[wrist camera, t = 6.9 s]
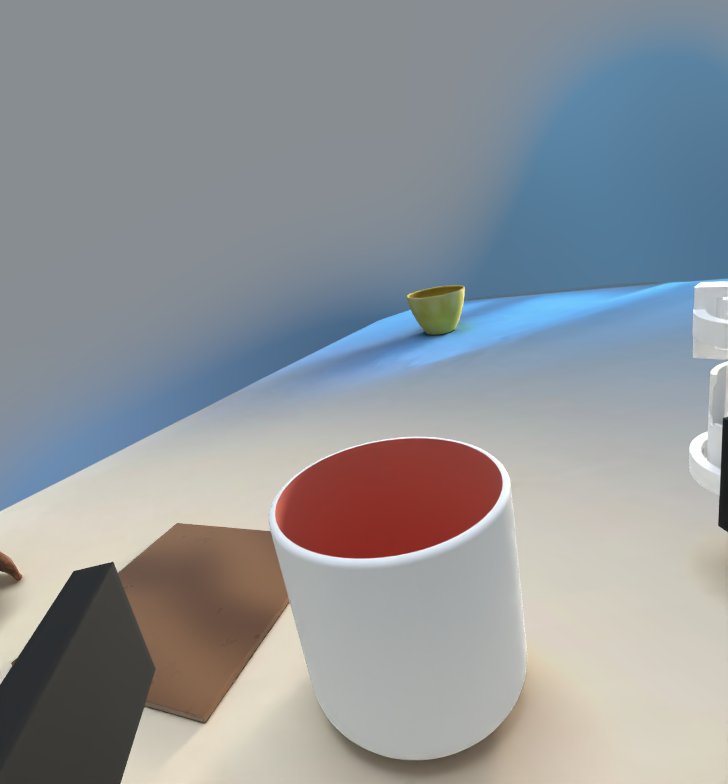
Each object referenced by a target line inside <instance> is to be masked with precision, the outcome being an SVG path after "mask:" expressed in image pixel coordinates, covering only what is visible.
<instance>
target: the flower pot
mask: <svg viewBox="0 0 728 784" xmlns="http://www.w3.org/2000/svg"><path fill="white" fill-rule="evenodd" d="M407 300H408V303H409V306H410V309H411V311H412V313H413V315H414V317H415V318H416V320H417V322H418V323H419V325H420V326H421V327H422V329H423V330H424V331H425V332H426V333H427V334H430V335H438V334H444V333H448V332H451V331H453V330H455V328H456V326H457V324H458V321H459V318H460V315H461V312H462V308H463V302H464V286H459V285H453V286H442V287H435V288H430V289H424V290H420V291H417V292H414V293H411V294H409V295H407Z"/></svg>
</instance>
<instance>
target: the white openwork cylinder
mask: <svg viewBox="0 0 728 784" xmlns="http://www.w3.org/2000/svg"><path fill="white" fill-rule="evenodd" d="M693 358H706V359H724V360H728V282H702V283H699V284H698V285H696V286H695V296H694V310H693ZM724 417H728V362H725V363H722V364H720V365H718V366H716V367H714V368H713V369H712V370H711V372H710V393H709V418H708V431H707V432H705V433H703V434H701V435H699V436H697V437H696V438H695V439H694V440H693V441H692V442H691V444H690V453H689V470H690V473H691V475H692V477H693V478H694V479H695V481H696V482H698V483H699V484H700V485H701V486H702V487H704V488H705V489H707V490H708V491H710V492H712V493H714V494H716V495H718V496H720V474H721V450H722V425H723V418H724ZM706 457H707V460H706V459H705V458H706Z"/></svg>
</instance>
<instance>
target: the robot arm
mask: <svg viewBox="0 0 728 784" xmlns="http://www.w3.org/2000/svg"><path fill="white" fill-rule="evenodd" d="M718 526H720V527H721V528H723V529H724V530H725V531H727V532H728V417H724V418H723V425H722V450H721V474H720V498H719V523H718ZM155 670H156V668H155V666H154V663H153V661H152V658H151V656H150V653H149V651H148V648H147V646H146V643H145V641H144V638H143V636H142V633H141V631H140V628H139V626H138V623H137V621H136V618H135V615H134V613H133V610H132V608H131V605H130V603H129V600H128V598H127V595H126V593H125V590H124V588H123V585H122V583H121V580H120V578H119V575H118V573H117V570H116V568H115V565H114V563H113V562H111V563H106V564H102V565H98V566H94V567H89V568H85V569H81V570H77V571H74V572H73V573H72V575H71V576H70V578H69V579H68V581H67V582H66V584H65V585H64V587H63V589H62V590H61V592H60V593H59V595H58V596H57V598H56V599H55V601H54V602H53V604H52V606H51V607H50V609H49V610H48V612H47V613H46V615H45V616H44V618H43V620H42V621H41V623H40V624H39V626H38V627H37V629H36V630H35V632H34V633H33V635H32V637H31V638H30V640H29V641H28V643H27V644H26V646H25V647H24V649H23V650H22V652H21V654H20V655H19V657H18V658H17V660H16V661H15V663H14V664H13V666H12V668H11V669H10V671H9V672H8V674H7V675H6V677H5V678H4V680H3V681H2V683H1V685H0V784H120V783H121V780H122V777H123V773H124V770H125V767H126V764H127V760H128V757H129V754H130V751H131V747H132V744H133V741H134V738H135V734H136V731H137V728H138V725H139V722H140V718H141V715H142V712H143V709H144V705H145V702H146V699H147V696H148V692H149V689H150V686H151V683H152V679H153V676H154V673H155Z"/></svg>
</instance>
